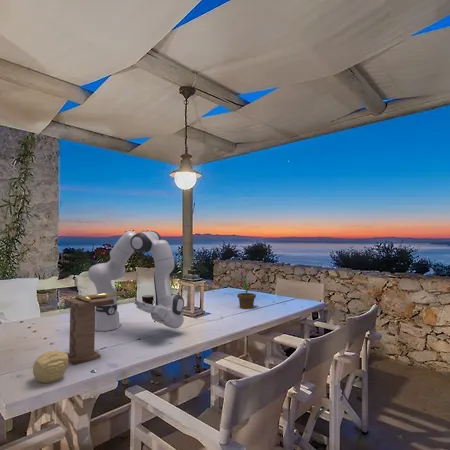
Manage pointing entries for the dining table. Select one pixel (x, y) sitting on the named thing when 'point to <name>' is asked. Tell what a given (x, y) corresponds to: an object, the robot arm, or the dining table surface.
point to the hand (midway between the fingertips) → (140, 303)
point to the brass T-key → (98, 295)
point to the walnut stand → (83, 329)
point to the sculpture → (50, 366)
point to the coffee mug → (148, 299)
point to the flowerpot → (246, 297)
